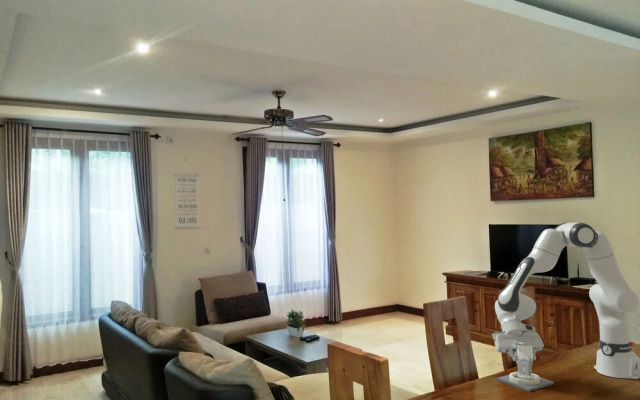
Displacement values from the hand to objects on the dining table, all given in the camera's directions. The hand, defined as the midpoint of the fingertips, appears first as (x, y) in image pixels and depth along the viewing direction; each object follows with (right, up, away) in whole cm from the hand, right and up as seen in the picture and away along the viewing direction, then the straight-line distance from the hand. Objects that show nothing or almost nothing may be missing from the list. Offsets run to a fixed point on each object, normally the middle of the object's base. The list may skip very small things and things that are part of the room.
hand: (525, 359), depth 208 cm
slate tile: (0, -10, 0) cm, 10 cm away
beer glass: (0, -9, 0) cm, 9 cm away
